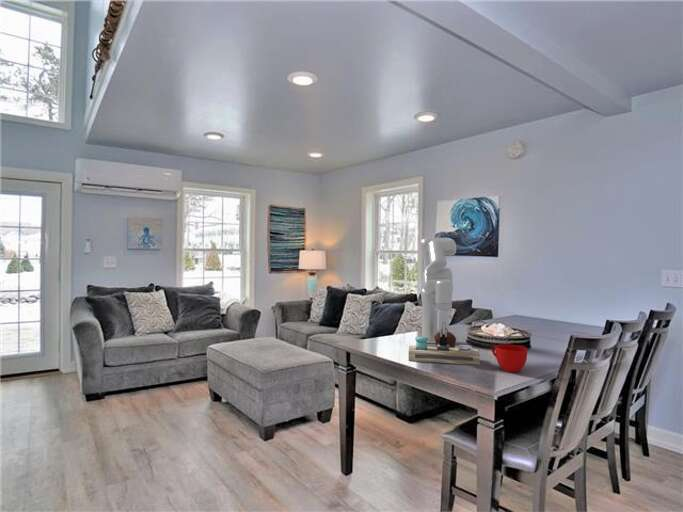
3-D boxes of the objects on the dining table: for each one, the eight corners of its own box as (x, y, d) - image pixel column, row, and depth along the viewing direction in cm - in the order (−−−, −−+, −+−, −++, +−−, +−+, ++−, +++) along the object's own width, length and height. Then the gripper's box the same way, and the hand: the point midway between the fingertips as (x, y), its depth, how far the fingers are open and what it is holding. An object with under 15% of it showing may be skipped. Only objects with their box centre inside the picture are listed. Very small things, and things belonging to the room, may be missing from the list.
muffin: (460, 352, 214) (460, 333, 214) (440, 354, 211) (440, 334, 211) (449, 347, 225) (449, 329, 225) (430, 348, 222) (430, 329, 222)
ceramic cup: (502, 363, 194) (502, 341, 194) (533, 372, 179) (534, 349, 179) (481, 366, 188) (482, 344, 188) (512, 376, 173) (512, 352, 173)
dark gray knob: (436, 356, 202) (436, 343, 202) (449, 356, 201) (449, 344, 201) (436, 359, 196) (436, 346, 196) (449, 360, 195) (450, 346, 195)
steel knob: (457, 357, 200) (457, 344, 200) (470, 358, 199) (470, 345, 199) (458, 360, 194) (458, 347, 194) (472, 361, 193) (472, 347, 193)
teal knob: (415, 348, 204) (415, 336, 204) (427, 349, 203) (428, 336, 203) (415, 351, 198) (415, 338, 198) (428, 352, 197) (428, 339, 197)
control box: (409, 355, 207) (409, 345, 207) (476, 359, 201) (476, 348, 201) (408, 360, 197) (408, 350, 196) (479, 365, 190) (479, 354, 190)
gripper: (434, 304, 206) (434, 341, 207) (435, 308, 192) (435, 348, 192) (450, 305, 205) (450, 342, 205) (452, 308, 190) (452, 349, 190)
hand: (443, 345), depth 198 cm, fingers closed
